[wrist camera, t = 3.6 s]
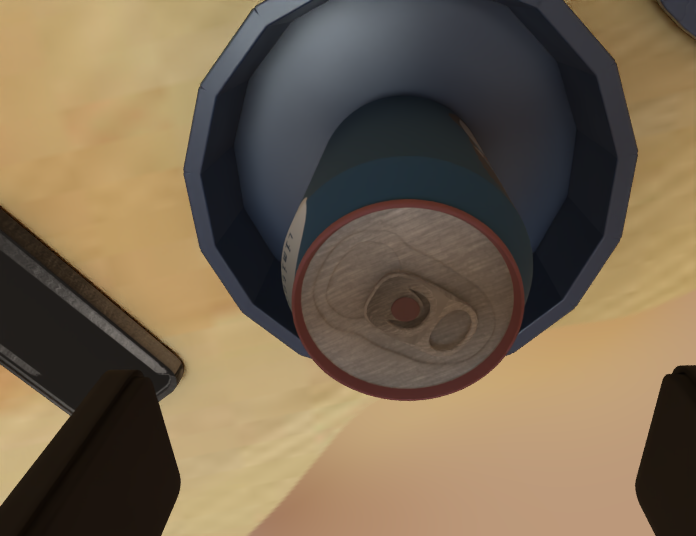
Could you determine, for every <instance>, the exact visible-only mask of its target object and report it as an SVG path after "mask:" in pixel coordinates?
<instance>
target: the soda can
mask: <svg viewBox="0 0 696 536" xmlns="http://www.w3.org/2000/svg"><path fill="white" fill-rule="evenodd" d="M281 274H282V283H283V288H284V293H285V296H286V299H287V302H288V305H289V307H290V309H291V312H292V315H293V321H294V324H295V328H296V331H297V333H298V336H299V338H300V340H301V342H302V344H303V346H304V348H305V349H306V351H307V352H308V354H309V355H310V357H311V358H312V359H313V360H314V362H315V363H316V364H317V365H318V366H319V367H320V368H321V369H322V370H323V371H324V372H325V373H326V374H328V375H329V376H330V377H332V378H333V379H335V380H336V381H338V382H339V383H341V384H343V385H345V386H347V387H349V388H351V389H353V390H356V391H358V392H361V393H364V394H367V395H370V396H374V397H378V398H383V399H390V400H399V401H416V400H426V399H432V398H437V397H441V396H445V395H448V394H451V393H454V392H457V391H459V390H462V389H464V388H466V387H468V386H470V385H471V384H473V383H475V382H477V381H478V380H480V379H481V378H482V377H484V376H485V375H487V374H488V373H489V372H490V371H492V369H494V368H495V367H496V366H497V365H498V364H499V363H500V362H501V360H502V359H503V358H504V357H505V356H506V354H507V353H508V351H509V350H510V348H511V347H512V345H513V343H514V341H515V339H516V337H517V335H518V333H519V330H520V327H521V324H522V320H523V314H524V306H525V304H526V301H527V298H528V295H529V291H530V287H531V282H532V276H533V255H532V248H531V243H530V239H529V236H528V233H527V230H526V228H525V225H524V223H523V221H522V219H521V217H520V215H519V213H518V212H517V210H516V208H515V207H514V205H513V203H512V201H511V200H510V198H509V196H508V194H507V193H506V191H505V189H504V188H503V186H502V184H501V182H500V181H499V179H498V177H497V175H496V174H495V172H494V170H493V168H492V167H491V165H490V163H489V162H488V160H487V158H486V156H485V155H484V153H483V151H482V149H481V148H480V146H479V144H478V143H477V141H476V139H475V137H474V136H473V134H472V132H471V131H470V129H469V128H468V127H467V125H466V124H465V123H464V122H463V121H462V120H461V119H460V118H459V117H458V116H457V115H456V114H455V113H453V112H452V111H451V110H449V109H448V108H446V107H445V106H443V105H441V104H439V103H437V102H434V101H432V100H429V99H425V98H421V97H416V96H391V97H386V98H382V99H378V100H375V101H372V102H370V103H368V104H366V105H364V106H362V107H360V108H359V109H357V110H355V111H354V112H353V113H351V114H350V115H349V116H348V117H347V118H346V119H344V120H343V121H342V123H341V124H340V125H339V126H338V127H337V128H336V130H335V131H334V133H333V134H332V136H331V138H330V139H329V141H328V143H327V146H326V148H325V150H324V152H323V154H322V157H321V159H320V161H319V163H318V166H317V168H316V170H315V172H314V174H313V177H312V179H311V181H310V183H309V186H308V188H307V190H306V192H305V194H304V197H303V199H302V201H301V203H300V206H299V208H298V210H297V212H296V214H295V217H294V219H293V221H292V223H291V226H290V228H289V230H288V233H287V236H286V238H285V242H284V246H283V252H282V260H281Z"/></svg>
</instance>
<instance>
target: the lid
mask: <svg viewBox="0 0 696 536" xmlns="http://www.w3.org/2000/svg"><path fill="white" fill-rule="evenodd" d="M656 1H657V2H658V4H659V5H660V7H661V8H662V10H663V11H664V12H665V13H666V14H667V15H668V16H669V17H670V18H671V19H672V20H673V21H674V22H675V23H676V24H677V25H678V26H679V27H680V28H681V29H682V30H683V31H684V32H686V33H687V34H688V35H690V36H691V37H693V38H694V39H695V40H696V0H656Z"/></svg>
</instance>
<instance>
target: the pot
mask: <svg viewBox="0 0 696 536" xmlns="http://www.w3.org/2000/svg"><path fill="white" fill-rule="evenodd" d="M391 96H416V97H421V98H425V99H429V100H432V101H434V102H437V103H439V104H441V105H443V106H445V107H446V108H448V109H449V110H451V111H452V112H453V113H455V114H456V115H457V116H458V117H459V118H460V119H461V120H462V121H463V122H464V123H465V124H466V125H467V127H468V128H469V129H470V131H471V132H472V134H473V136H474V137H475V139H476V141H477V143H478V144H479V146H480V148H481V149H482V151H483V153H484V155H485V156H486V158H487V160H488V162H489V163H490V165H491V167H492V168H493V170H494V172H495V174H496V175H497V177H498V179H499V181H500V182H501V184H502V186H503V188H504V189H505V191H506V193H507V194H508V196H509V198H510V200H511V201H512V203H513V205H514V207H515V208H516V210H517V212H518V213H519V215H520V217H521V219H522V221H523V223H524V225H525V228H526V230H527V233H528V236H529V239H530V243H531V248H532V255H533V276H532V282H531V287H530V291H529V295H528V298H527V301H526V304H525V306H524V314H523V320H522V324H521V327H520V330H519V333H518V335H517V337H516V339H515V341H514V343H513V345H512V347H511V348H510V350H509V351H508V353H507V354H506V356H507V355H510V354H512V353H514V352H516V351H517V350H518V349H520V348H521V347H523V346H524V345H525V344H527V343H528V342H529V341H531V340H532V339H533V338H535V337H536V336H538V335H539V334H540V333H542V332H543V331H544V330H546V329H547V328H548V327H550V326H551V325H553V324H554V323H555V322H557V321H558V320H559V319H561V318H562V317H563V316H565V315H566V314H568V313H569V312H570V311H572V310H573V309H574V308H575V307H576V306H577V305H578V303H579V302H580V300H581V299H582V297H583V296H584V294H585V293H586V291H587V290H588V288H589V287H590V285H591V284H592V282H593V281H594V279H595V278H596V276H597V275H598V273H599V271H600V270H601V268H602V267H603V265H604V264H605V262H606V261H607V259H608V258H609V256H610V255H611V253H612V252H613V250H614V249H615V247H616V246H617V244H618V243H619V241H620V238H621V237H622V232H623V227H624V222H625V217H626V212H627V207H628V202H629V197H630V192H631V187H632V182H633V177H634V172H635V167H636V162H637V157H638V154H637V153H638V149H637V145H636V141H635V137H634V133H633V128H632V124H631V120H630V116H629V112H628V108H627V104H626V100H625V96H624V92H623V88H622V84H621V80H620V76H619V72H618V68H617V64H616V63H615V60H614V59H613V57H612V56H611V55H610V54H609V53H608V52H607V51H606V49H605V48H604V47H603V46H602V45H601V44H600V42H599V41H598V40H597V39H596V38H595V37H594V35H593V34H592V33H591V32H590V31H589V30H588V28H587V27H586V26H585V25H584V24H583V23H582V22H581V20H580V19H579V18H578V17H577V16H576V15H575V13H574V12H573V11H572V10H571V9H570V8H569V6H568V5H567V4H566V3H565V2H564V1H563V0H265V1H263V2H261V3H260V4H258V5H256V6H255V8H254V9H252V10H251V12H250V13H249V15H248V16H247V18H246V19H245V20H244V22H243V23H242V25H241V26H240V28H239V29H238V30H237V32H236V33H235V35H234V36H233V38H232V39H231V41H230V42H229V43H228V45H227V46H226V48H225V49H224V51H223V52H222V54H221V55H220V56H219V58H218V59H217V61H216V62H215V64H214V65H213V66H212V68H211V69H210V71H209V72H208V74H207V75H206V77H205V78H204V79H203V81H202V82H201V84H200V87H199V89H198V94H197V100H196V105H195V110H194V116H193V121H192V126H191V131H190V137H189V142H188V147H187V153H186V158H185V163H184V168H183V170H184V178H185V183H186V187H187V192H188V196H189V201H190V206H191V210H192V215H193V219H194V224H195V229H196V233H197V238H198V242H199V247H200V249H201V252H202V253H203V255H204V256H205V258H206V259H207V261H208V262H209V264H210V265H211V267H212V268H213V270H214V271H215V273H216V274H217V276H218V277H219V279H220V280H221V282H222V283H223V285H224V286H225V288H226V289H227V291H228V292H229V294H230V295H231V297H232V298H233V300H234V301H235V303H236V304H237V306H238V307H239V309H240V310H241V311H242V313H244V314H245V315H246V316H248V317H249V318H250V319H252V320H253V321H254V322H256V323H257V324H259V325H260V326H261V327H263V328H264V329H265V330H267V331H268V332H269V333H271V334H272V335H273V336H275V337H276V338H278V339H279V340H280V341H282V342H283V343H284V344H286V345H287V346H288V347H290V348H291V349H293V350H294V351H295V352H297V353H298V354H300V355H302V356H305V357H308V358H311V357H310V355H309V354H308V352H307V351H306V349H305V348H304V346H303V344H302V342H301V340H300V338H299V336H298V333H297V331H296V328H295V324H294V321H293V315H292V312H291V309H290V307H289V305H288V302H287V299H286V296H285V293H284V288H283V283H282V274H281V260H282V252H283V246H284V242H285V238H286V236H287V233H288V230H289V228H290V226H291V223H292V221H293V219H294V217H295V214H296V212H297V210H298V208H299V206H300V203H301V201H302V199H303V197H304V194H305V192H306V190H307V188H308V186H309V183H310V181H311V179H312V177H313V174H314V172H315V170H316V168H317V166H318V163H319V161H320V159H321V157H322V154H323V152H324V150H325V148H326V146H327V143H328V141H329V139H330V138H331V136H332V134H333V133H334V131H335V130H336V128H337V127H338V126H339V125H340V124H341V123H342V121H343V120H344V119H346V118H347V117H348V116H349V115H350V114H351V113H353V112H354V111H355V110H357V109H359V108H360V107H362V106H364V105H366V104H368V103H370V102H372V101H375V100H378V99H382V98H386V97H391ZM311 359H312V358H311Z"/></svg>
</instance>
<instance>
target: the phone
mask: <svg viewBox="0 0 696 536" xmlns="http://www.w3.org/2000/svg"><path fill="white" fill-rule="evenodd" d="M0 364H1V365H2V366H3V367H5V368H6V369H7V370H9V371H10V372H11V373H13V374H14V375H16V376H17V377H18V378H20V379H21V380H22V381H24V382H25V383H26V384H28V385H29V386H31V387H32V388H33V389H35V390H36V391H37V392H39V393H40V394H41V395H43V396H44V397H46V398H47V399H48V400H50V401H51V402H52V403H54V404H55V405H56V406H58V407H59V408H60V409H62V410H63V411H65V412H66V413H67V414H69V415H70V416H71V415H72V414H73V412H74V411H75V410H76V408H77V407H78V406H79V405H80V403H81V402H82V401H83V399H84V398H85V397H86V396H87V394H88V393H89V392H90V390H91V389H92V388H93V387H94V385H95V384H96V383H97V381H98V380H99V379H100V377H101V376H102V375H103V374H104V373H105V372H106V371H108V370H140V371H141V372H142V373H143V375H144V377H148V378H150V379H151V380H152V383H153V386H154V389H155V393H156V396H157V399H158V402H159V401H160V400H162V399H163V398H164V397H166V396H167V395H168V394H170V393H171V392H172V391H173V390H174V389H175V388H176V386H177V385H178V383H179V381H180V379H181V377H182V376H183V373H184V368H183V365H182V363H181V361H180V360H179V359H178V358H177V357H176V356H175V355H174V354H173V353H172V352H170V351H169V350H168V349H167V348H166V347H164V346H163V345H162V344H161V343H160V342H159V341H157V340H156V339H155V338H154V337H153V336H151V335H150V334H149V333H148V332H147V331H145V330H144V329H143V328H142V327H141V326H139V325H138V324H137V323H136V322H135V321H134V320H132V319H131V318H130V317H129V316H128V315H126V314H125V313H124V312H123V311H122V310H120V309H119V308H118V307H117V306H116V305H115V304H113V303H112V302H111V301H110V300H109V299H107V298H106V297H105V296H104V295H103V294H101V293H100V292H99V291H98V290H97V289H96V288H94V287H93V286H92V285H91V284H90V283H88V282H87V281H86V280H85V279H84V278H82V277H81V276H80V275H79V274H78V273H76V272H75V271H74V270H73V269H72V268H71V267H69V266H68V265H67V264H66V263H65V262H63V261H62V260H61V259H60V258H59V257H57V256H56V255H55V254H54V253H53V252H52V251H50V250H49V249H48V248H47V247H46V246H44V245H43V244H42V243H41V242H40V241H38V240H37V239H36V238H35V237H34V236H33V235H31V234H30V233H29V232H28V231H27V230H25V229H24V228H23V227H22V226H21V225H19V224H18V223H17V222H16V221H15V220H13V219H12V218H11V217H10V216H9V215H8V214H6V213H5V212H4V211H3V210H2V209H0Z"/></svg>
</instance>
